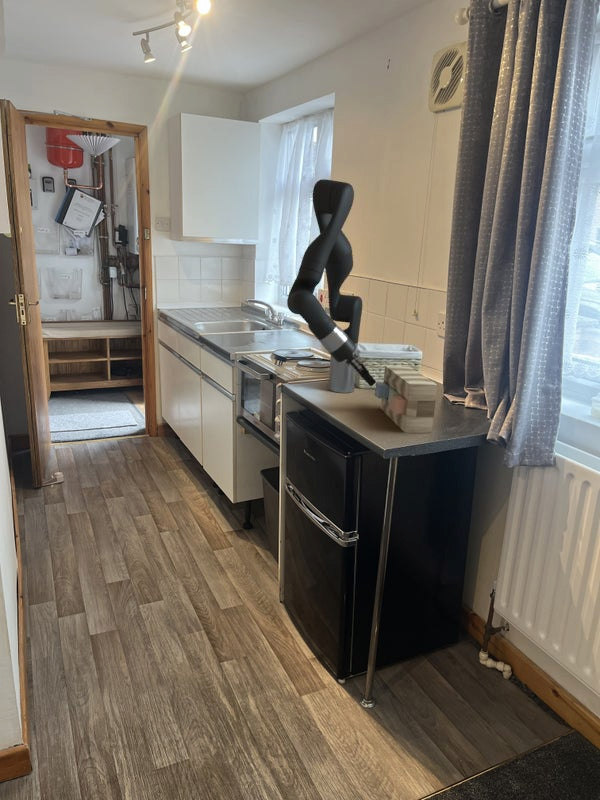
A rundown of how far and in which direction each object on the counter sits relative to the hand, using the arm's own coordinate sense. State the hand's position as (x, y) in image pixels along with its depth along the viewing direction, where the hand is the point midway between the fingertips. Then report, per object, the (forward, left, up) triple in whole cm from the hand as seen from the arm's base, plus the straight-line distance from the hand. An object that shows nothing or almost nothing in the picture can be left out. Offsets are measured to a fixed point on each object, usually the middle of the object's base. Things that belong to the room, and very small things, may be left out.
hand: (373, 383), depth 181 cm
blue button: (0, +3, -4) cm, 5 cm away
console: (+8, +9, -9) cm, 15 cm away
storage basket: (-36, +14, -9) cm, 40 cm away
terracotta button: (+16, +3, -4) cm, 17 cm away
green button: (+8, +5, -4) cm, 10 cm away
